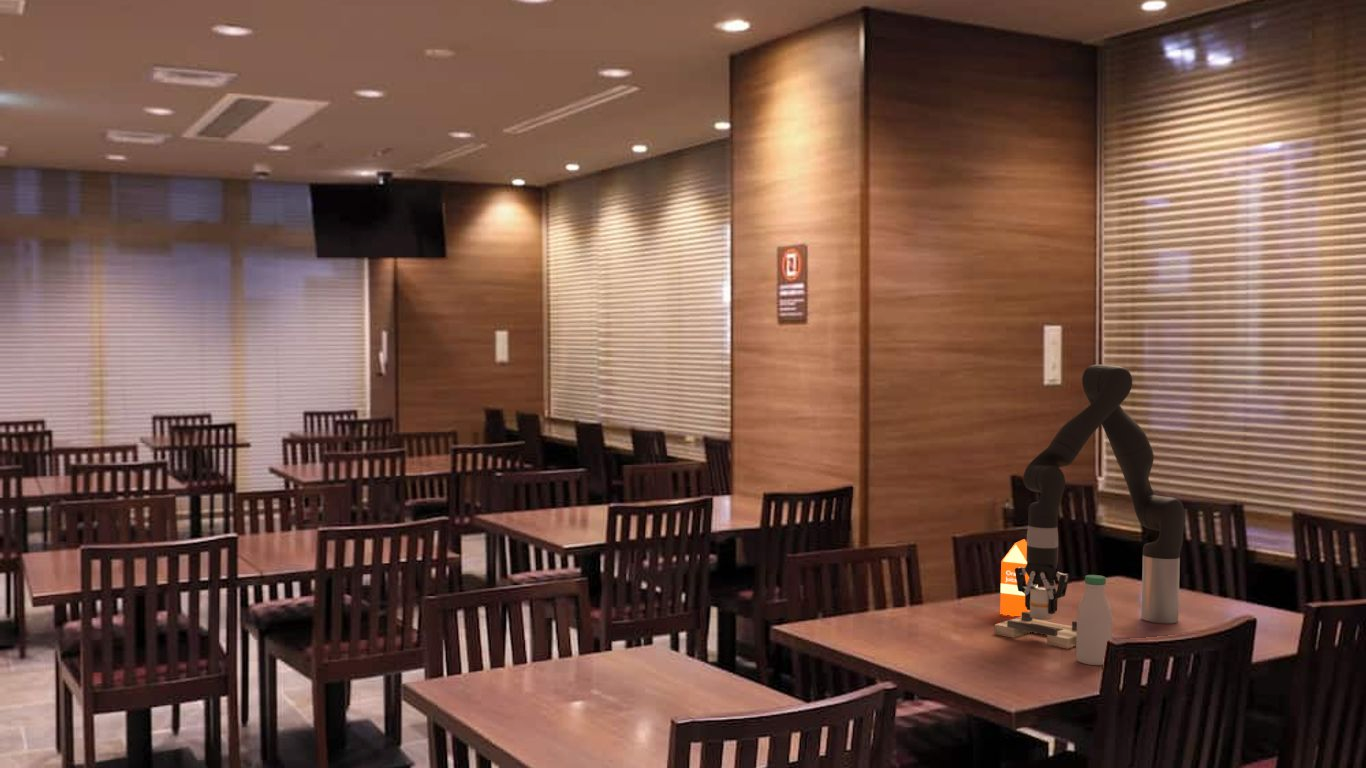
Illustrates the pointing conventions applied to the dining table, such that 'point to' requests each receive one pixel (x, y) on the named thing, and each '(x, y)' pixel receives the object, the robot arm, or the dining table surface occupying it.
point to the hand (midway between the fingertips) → (1040, 611)
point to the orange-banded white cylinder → (1039, 604)
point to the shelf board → (1039, 630)
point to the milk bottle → (1093, 622)
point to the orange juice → (1013, 580)
